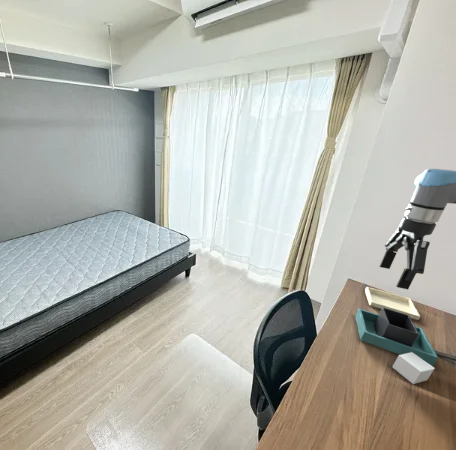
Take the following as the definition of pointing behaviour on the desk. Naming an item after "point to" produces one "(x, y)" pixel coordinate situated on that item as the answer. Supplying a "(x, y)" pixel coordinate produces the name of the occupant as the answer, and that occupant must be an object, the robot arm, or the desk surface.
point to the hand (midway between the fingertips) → (392, 277)
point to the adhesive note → (413, 367)
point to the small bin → (396, 327)
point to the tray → (391, 302)
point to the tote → (369, 335)
